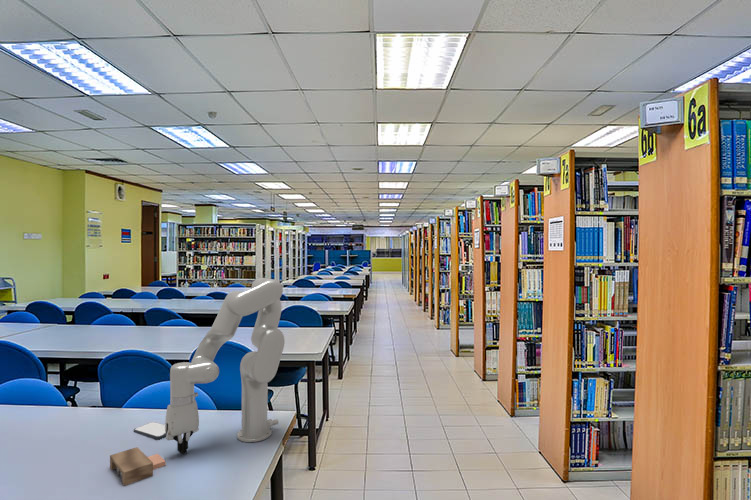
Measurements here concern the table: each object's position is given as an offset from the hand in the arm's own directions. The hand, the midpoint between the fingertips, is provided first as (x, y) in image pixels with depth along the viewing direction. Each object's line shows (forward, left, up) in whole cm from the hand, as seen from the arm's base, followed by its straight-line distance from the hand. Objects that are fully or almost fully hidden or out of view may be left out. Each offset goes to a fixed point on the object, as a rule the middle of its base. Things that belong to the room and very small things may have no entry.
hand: (182, 452), depth 144 cm
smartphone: (0, -26, -1) cm, 26 cm away
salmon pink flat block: (+13, 0, -1) cm, 13 cm away
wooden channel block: (+16, 0, -1) cm, 16 cm away
